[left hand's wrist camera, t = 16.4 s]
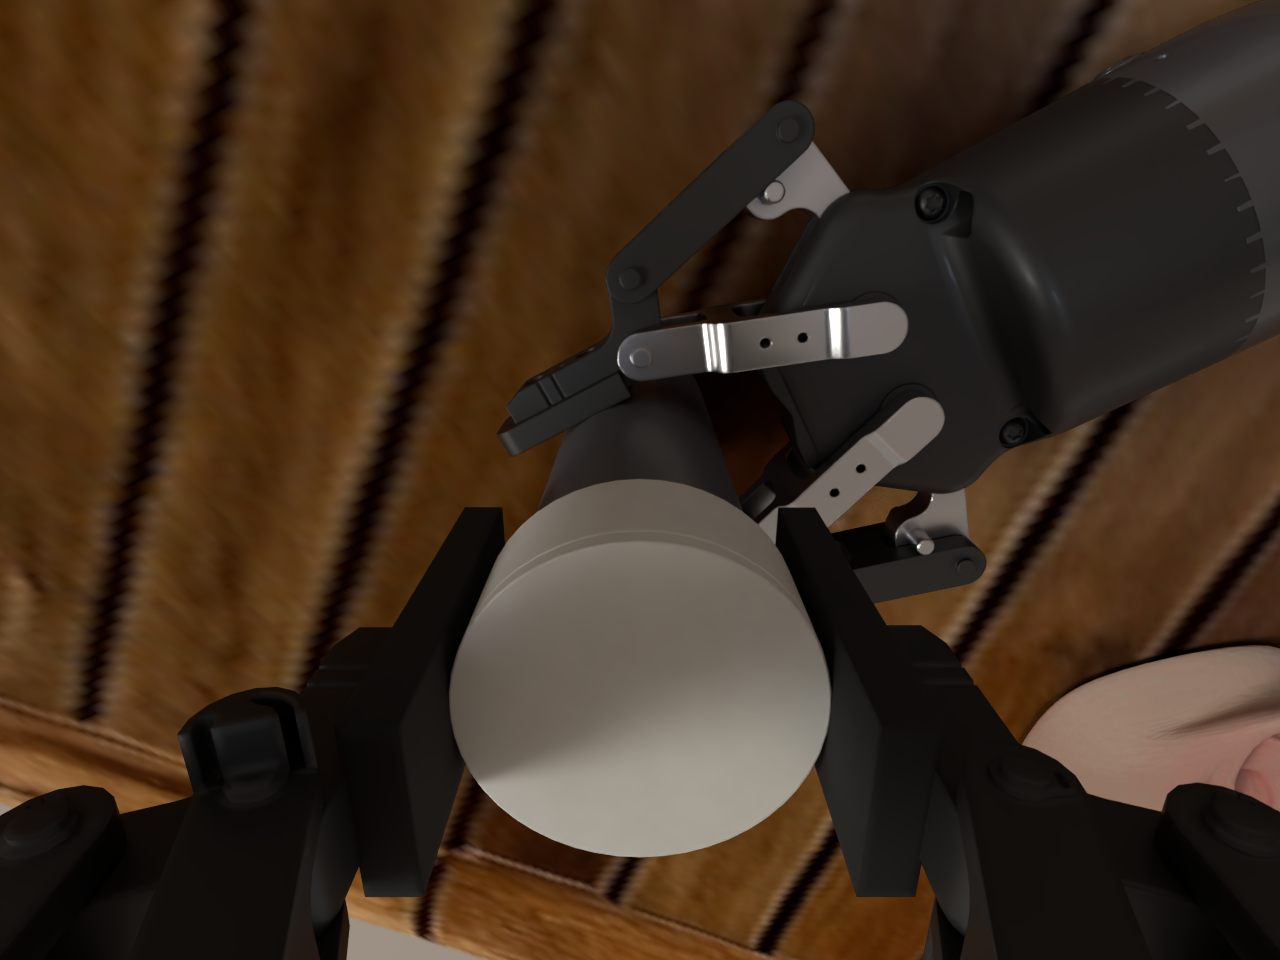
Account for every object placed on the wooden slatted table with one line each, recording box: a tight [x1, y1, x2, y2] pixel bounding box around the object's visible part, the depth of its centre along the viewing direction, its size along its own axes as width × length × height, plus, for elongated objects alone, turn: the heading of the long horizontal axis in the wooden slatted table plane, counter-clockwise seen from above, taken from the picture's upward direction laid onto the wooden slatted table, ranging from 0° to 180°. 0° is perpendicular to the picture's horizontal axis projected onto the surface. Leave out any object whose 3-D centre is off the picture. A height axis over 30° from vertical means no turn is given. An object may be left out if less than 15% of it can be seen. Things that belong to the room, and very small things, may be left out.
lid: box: [449, 479, 832, 857], centre depth 11 cm, size 6×6×2 cm
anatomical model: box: [1022, 645, 1280, 812], centre depth 30 cm, size 13×4×12 cm
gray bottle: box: [537, 374, 743, 512], centre depth 19 cm, size 5×5×16 cm
